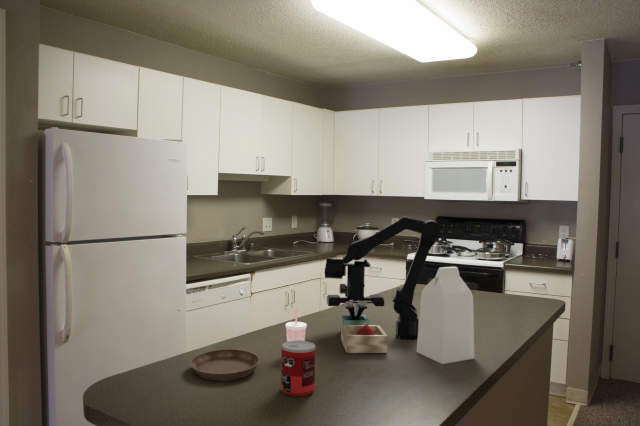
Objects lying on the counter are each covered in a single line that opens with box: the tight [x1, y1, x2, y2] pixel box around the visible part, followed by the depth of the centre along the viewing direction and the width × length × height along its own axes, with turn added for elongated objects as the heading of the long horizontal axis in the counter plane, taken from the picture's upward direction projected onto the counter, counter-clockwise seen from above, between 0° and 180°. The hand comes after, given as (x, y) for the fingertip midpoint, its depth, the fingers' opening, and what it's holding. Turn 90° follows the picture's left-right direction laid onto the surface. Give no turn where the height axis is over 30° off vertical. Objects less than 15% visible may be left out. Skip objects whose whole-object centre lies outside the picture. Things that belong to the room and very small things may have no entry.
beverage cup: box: [284, 306, 308, 342], centre depth 149 cm, size 6×6×14 cm
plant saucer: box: [190, 348, 260, 382], centre depth 135 cm, size 18×18×3 cm
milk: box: [415, 266, 475, 365], centre depth 152 cm, size 12×12×26 cm
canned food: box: [280, 340, 317, 397], centre depth 123 cm, size 8×8×11 cm
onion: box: [357, 323, 375, 335], centre depth 156 cm, size 6×6×8 cm
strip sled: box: [340, 314, 389, 354], centre depth 164 cm, size 12×25×5 cm, turn 6°
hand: (354, 326), depth 174 cm, fingers closed, pressing on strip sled
